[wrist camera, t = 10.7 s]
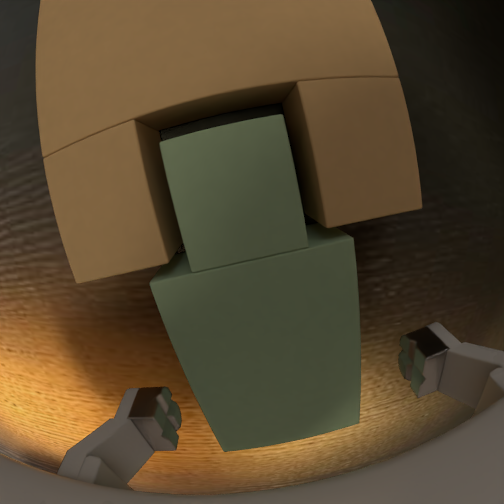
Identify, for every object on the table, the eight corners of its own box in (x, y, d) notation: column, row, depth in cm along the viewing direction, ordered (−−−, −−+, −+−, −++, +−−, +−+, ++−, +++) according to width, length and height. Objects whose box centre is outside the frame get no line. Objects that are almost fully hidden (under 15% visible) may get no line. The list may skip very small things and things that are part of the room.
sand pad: (71, 9, 8) (42, -14, 5) (311, -46, 8) (325, -80, 5) (109, 259, 11) (76, 285, 8) (383, 198, 11) (423, 208, 8)
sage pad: (144, 159, 10) (113, 157, 7) (307, 122, 10) (331, 107, 7) (224, 410, 14) (223, 452, 11) (342, 384, 14) (359, 423, 11)
